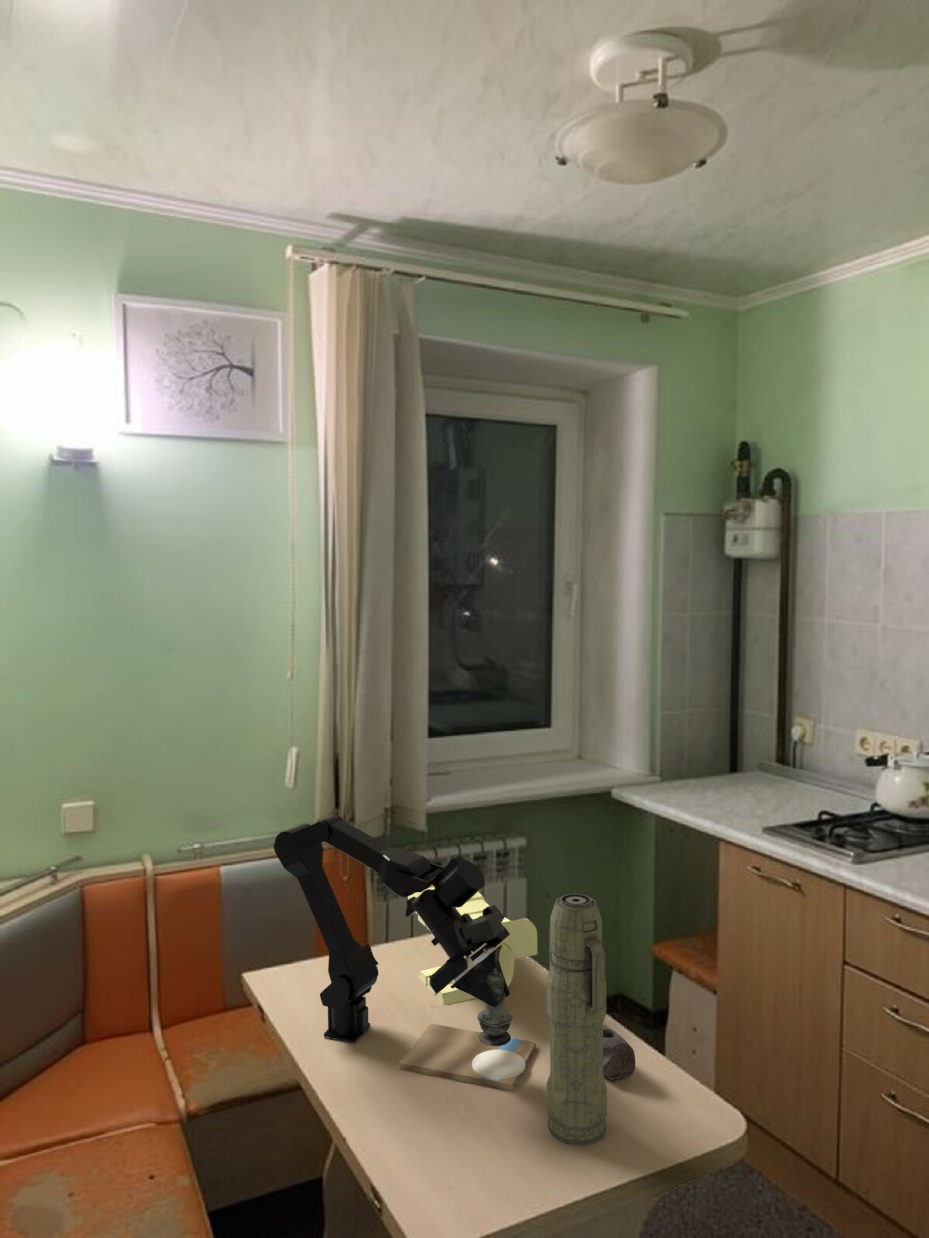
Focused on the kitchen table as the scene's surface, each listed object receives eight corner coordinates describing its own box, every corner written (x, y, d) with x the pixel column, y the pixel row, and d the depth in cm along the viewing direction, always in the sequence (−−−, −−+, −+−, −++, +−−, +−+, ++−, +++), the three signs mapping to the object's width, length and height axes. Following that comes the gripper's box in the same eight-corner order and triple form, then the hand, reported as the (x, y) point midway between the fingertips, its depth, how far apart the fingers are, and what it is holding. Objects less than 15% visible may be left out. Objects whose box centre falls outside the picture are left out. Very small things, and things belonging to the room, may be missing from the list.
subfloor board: (399, 1068, 153) (399, 1062, 153) (430, 1028, 166) (430, 1022, 166) (515, 1091, 146) (515, 1084, 146) (538, 1047, 159) (538, 1041, 159)
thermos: (583, 1159, 129) (582, 918, 127) (529, 1119, 139) (527, 894, 137) (626, 1135, 134) (626, 904, 133) (571, 1098, 144) (570, 882, 142)
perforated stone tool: (564, 1047, 160) (564, 1008, 159) (589, 1040, 162) (589, 1002, 161) (611, 1091, 146) (611, 1049, 146) (638, 1084, 148) (638, 1042, 148)
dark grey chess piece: (494, 1051, 146) (495, 978, 145) (469, 1037, 150) (469, 966, 150) (520, 1038, 150) (520, 967, 149) (495, 1024, 154) (495, 956, 154)
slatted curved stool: (537, 1006, 174) (537, 915, 173) (462, 1024, 168) (461, 930, 167) (471, 948, 202) (470, 869, 201) (404, 961, 195) (403, 880, 194)
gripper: (445, 914, 143) (508, 999, 138) (500, 878, 159) (557, 953, 154) (403, 952, 147) (462, 1035, 142) (460, 913, 163) (515, 987, 159)
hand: (502, 1000), depth 149 cm, fingers closed on dark grey chess piece, 4 cm apart
